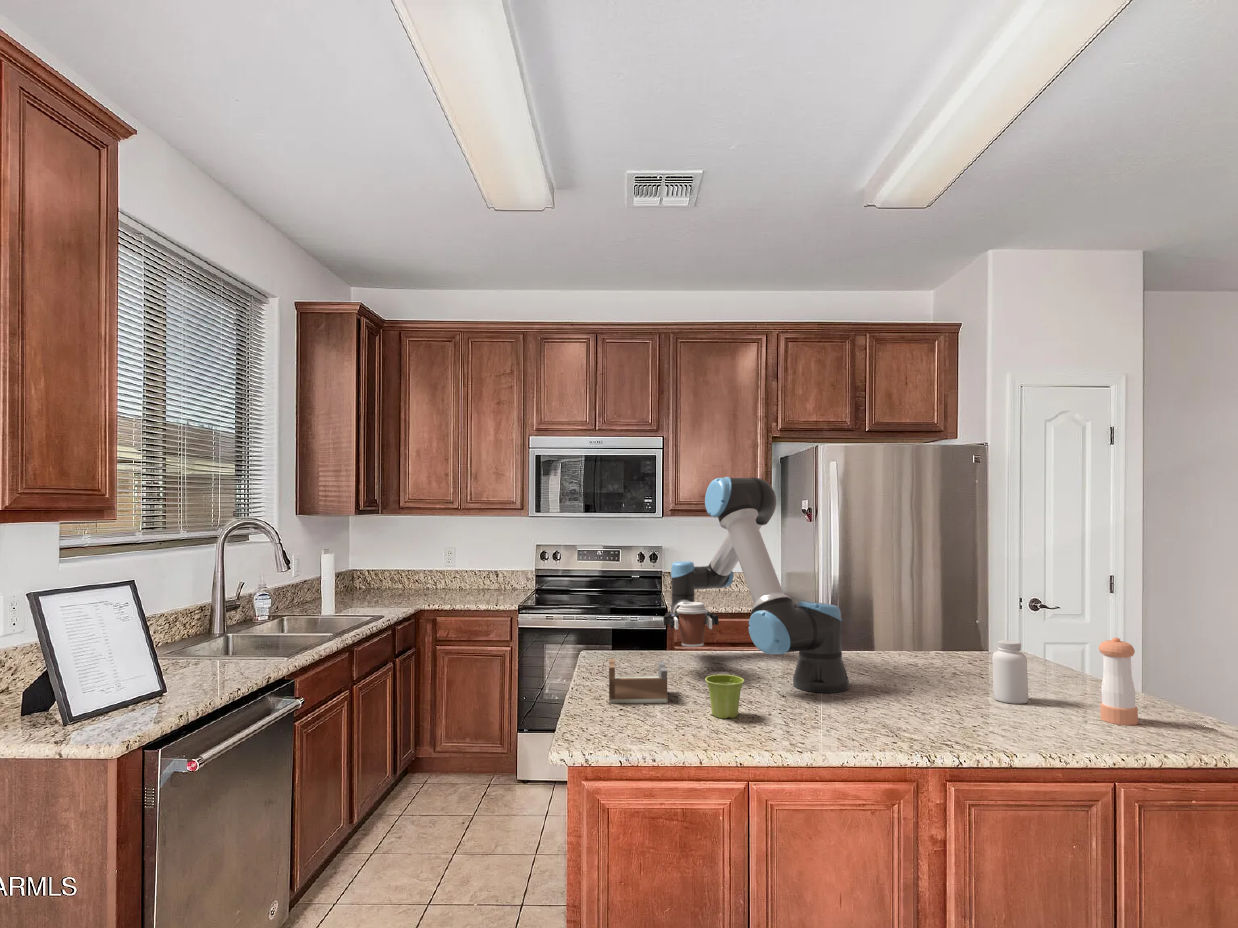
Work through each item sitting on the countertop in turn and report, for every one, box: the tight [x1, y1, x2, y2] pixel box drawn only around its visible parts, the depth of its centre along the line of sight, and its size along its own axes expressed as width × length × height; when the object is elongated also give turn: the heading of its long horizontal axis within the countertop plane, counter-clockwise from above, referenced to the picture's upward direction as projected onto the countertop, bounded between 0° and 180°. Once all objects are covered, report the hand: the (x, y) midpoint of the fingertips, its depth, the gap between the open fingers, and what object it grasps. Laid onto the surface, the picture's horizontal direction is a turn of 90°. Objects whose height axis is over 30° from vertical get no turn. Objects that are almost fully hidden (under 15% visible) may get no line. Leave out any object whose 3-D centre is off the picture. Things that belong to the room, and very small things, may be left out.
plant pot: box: [704, 674, 745, 719], centre depth 182 cm, size 9×9×9 cm
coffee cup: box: [676, 601, 709, 648], centre depth 221 cm, size 9×9×12 cm
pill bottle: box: [991, 639, 1029, 705], centre depth 194 cm, size 8×8×15 cm
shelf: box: [608, 657, 668, 704], centre depth 206 cm, size 24×15×9 cm, turn 1°
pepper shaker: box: [1098, 637, 1139, 726], centre depth 176 cm, size 7×7×19 cm
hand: (693, 624), depth 216 cm, fingers closed on coffee cup, 9 cm apart
